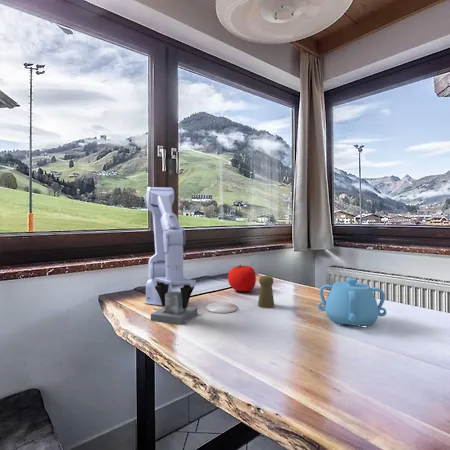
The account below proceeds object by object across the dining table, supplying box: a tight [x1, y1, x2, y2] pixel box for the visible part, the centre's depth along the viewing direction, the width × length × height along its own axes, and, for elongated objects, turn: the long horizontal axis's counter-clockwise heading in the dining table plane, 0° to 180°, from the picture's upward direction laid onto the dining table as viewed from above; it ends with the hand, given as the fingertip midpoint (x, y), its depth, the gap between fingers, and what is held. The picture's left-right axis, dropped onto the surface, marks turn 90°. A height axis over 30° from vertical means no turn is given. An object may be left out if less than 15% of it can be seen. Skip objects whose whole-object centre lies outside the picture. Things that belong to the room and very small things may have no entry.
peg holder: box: [150, 306, 198, 325], centre depth 105 cm, size 11×11×2 cm
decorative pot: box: [317, 277, 387, 326], centre depth 100 cm, size 16×16×14 cm
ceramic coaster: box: [205, 302, 238, 314], centre depth 114 cm, size 11×11×1 cm
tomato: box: [227, 264, 257, 292], centre depth 139 cm, size 12×14×11 cm
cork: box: [257, 275, 275, 309], centre depth 117 cm, size 6×6×11 cm
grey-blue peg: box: [164, 290, 184, 315], centre depth 105 cm, size 4×4×8 cm
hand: (174, 306), depth 105 cm, fingers open, 7 cm apart
